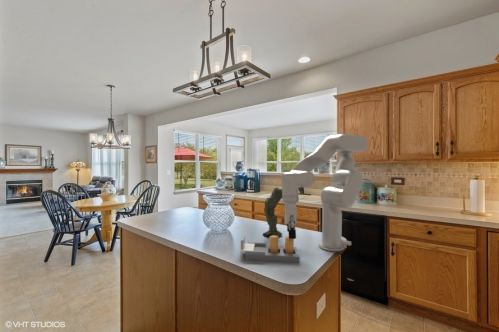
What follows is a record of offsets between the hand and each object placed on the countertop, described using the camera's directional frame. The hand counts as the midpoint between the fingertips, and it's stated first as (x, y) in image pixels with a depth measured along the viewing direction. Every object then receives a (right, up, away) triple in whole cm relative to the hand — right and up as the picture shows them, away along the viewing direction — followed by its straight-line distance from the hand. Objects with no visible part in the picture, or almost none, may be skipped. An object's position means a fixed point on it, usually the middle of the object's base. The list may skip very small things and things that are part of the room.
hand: (291, 234), depth 110 cm
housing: (-9, -10, 0) cm, 14 cm away
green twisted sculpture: (-5, -10, +31) cm, 33 cm away
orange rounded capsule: (-8, -10, 0) cm, 13 cm away
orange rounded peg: (-1, -10, 0) cm, 10 cm away
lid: (-21, -7, +1) cm, 22 cm away
